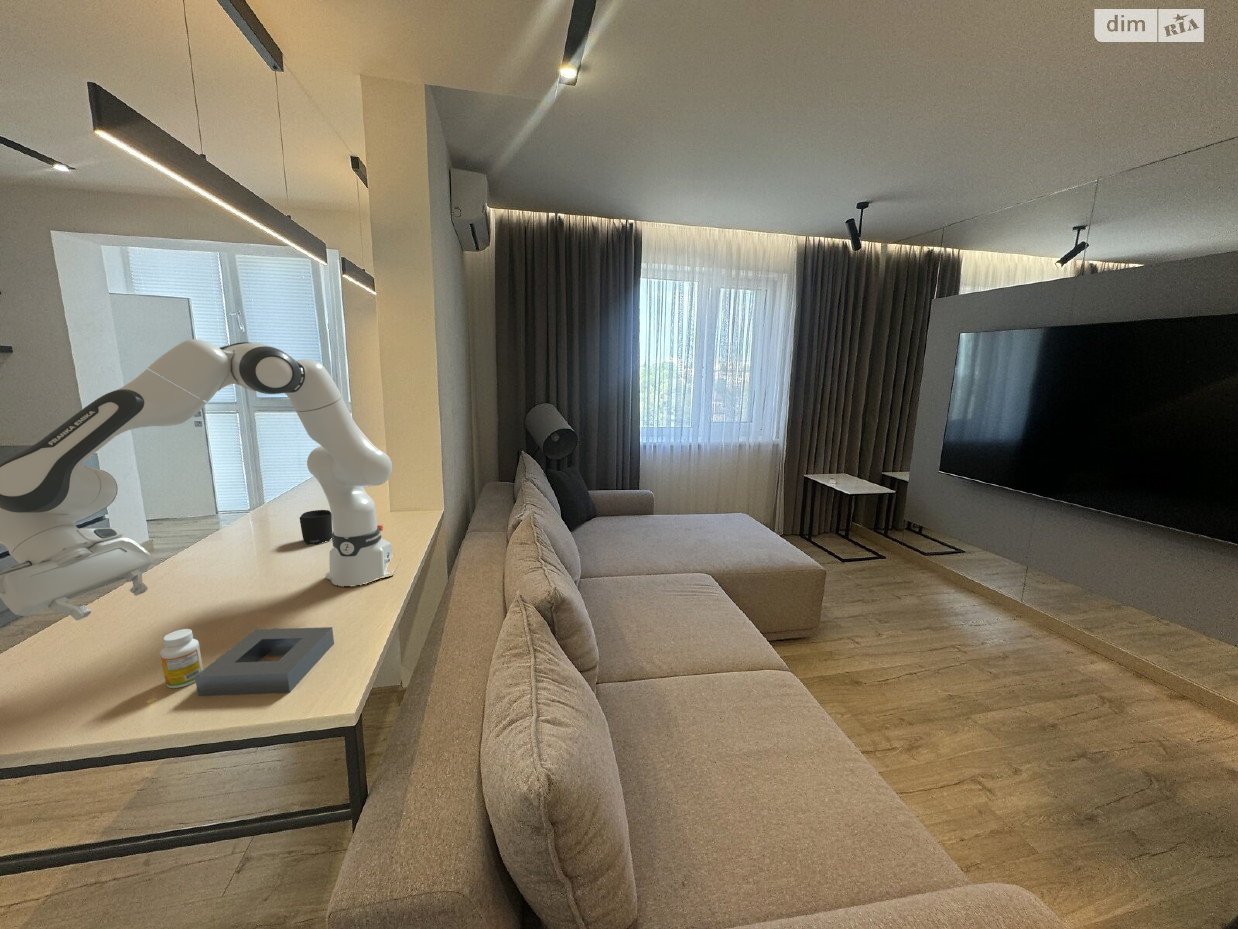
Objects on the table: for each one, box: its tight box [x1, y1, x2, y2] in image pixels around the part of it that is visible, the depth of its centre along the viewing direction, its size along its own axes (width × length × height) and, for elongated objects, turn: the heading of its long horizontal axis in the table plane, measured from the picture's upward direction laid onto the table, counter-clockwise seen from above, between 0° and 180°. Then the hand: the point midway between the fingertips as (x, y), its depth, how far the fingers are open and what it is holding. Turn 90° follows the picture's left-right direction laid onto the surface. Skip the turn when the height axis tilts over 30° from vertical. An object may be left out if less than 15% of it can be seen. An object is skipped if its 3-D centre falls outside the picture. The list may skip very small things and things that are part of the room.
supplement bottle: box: [160, 628, 205, 689], centre depth 88 cm, size 5×5×10 cm
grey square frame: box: [195, 626, 335, 697], centre depth 93 cm, size 16×16×4 cm
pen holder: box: [299, 509, 333, 545], centre depth 162 cm, size 9×9×10 cm
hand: (115, 603), depth 87 cm, fingers open, 8 cm apart
